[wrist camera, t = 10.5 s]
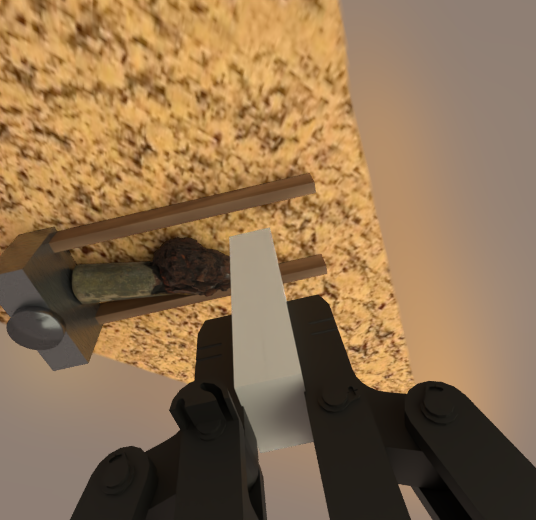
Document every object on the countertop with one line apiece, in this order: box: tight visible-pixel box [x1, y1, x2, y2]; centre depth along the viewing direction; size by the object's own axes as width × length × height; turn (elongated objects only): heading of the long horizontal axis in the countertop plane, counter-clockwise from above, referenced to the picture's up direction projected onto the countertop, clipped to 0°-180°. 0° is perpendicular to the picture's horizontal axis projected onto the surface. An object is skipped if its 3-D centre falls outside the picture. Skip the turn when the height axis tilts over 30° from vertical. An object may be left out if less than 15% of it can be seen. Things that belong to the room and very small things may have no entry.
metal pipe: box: [72, 237, 231, 304], centre depth 43 cm, size 18×7×6 cm, turn 93°
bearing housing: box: [0, 227, 103, 371], centre depth 41 cm, size 13×5×9 cm, turn 12°
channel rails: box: [49, 173, 327, 325], centre depth 43 cm, size 12×28×2 cm, turn 102°
